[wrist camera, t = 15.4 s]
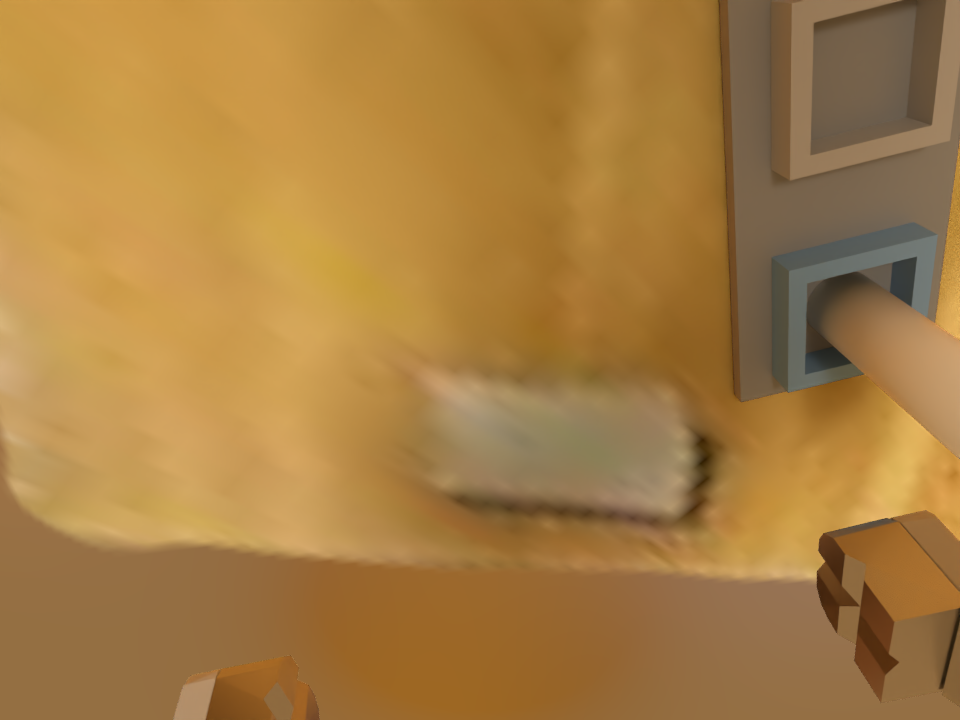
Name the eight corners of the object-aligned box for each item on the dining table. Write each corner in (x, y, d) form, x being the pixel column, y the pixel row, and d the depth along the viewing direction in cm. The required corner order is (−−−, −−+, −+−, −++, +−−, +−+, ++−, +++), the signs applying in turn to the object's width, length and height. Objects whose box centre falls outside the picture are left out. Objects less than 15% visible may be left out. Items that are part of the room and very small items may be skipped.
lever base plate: (718, -25, 32) (745, -24, 30) (974, -91, 32) (1025, -96, 29) (734, 393, 44) (754, 420, 42) (919, 348, 44) (952, 373, 42)
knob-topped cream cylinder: (806, 280, 40) (1051, 476, 25) (875, 263, 39) (1162, 449, 25) (804, 339, 42) (1031, 552, 27) (870, 323, 42) (1133, 527, 27)
